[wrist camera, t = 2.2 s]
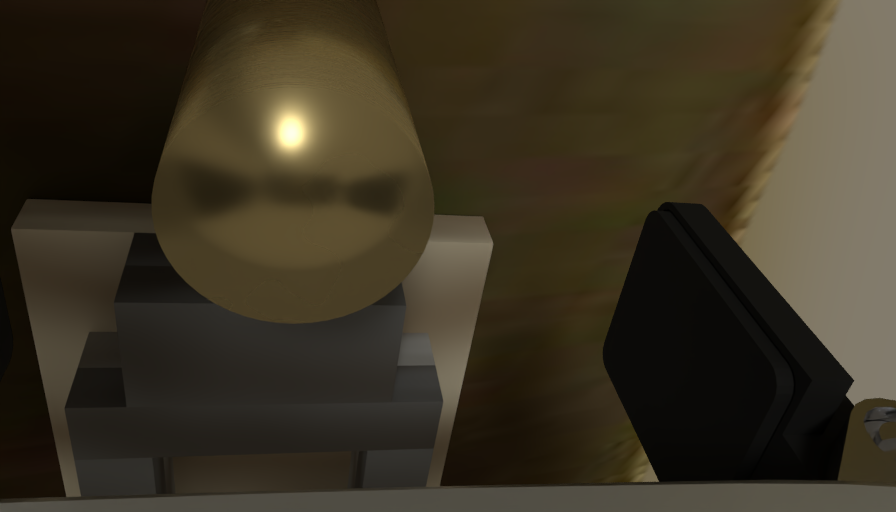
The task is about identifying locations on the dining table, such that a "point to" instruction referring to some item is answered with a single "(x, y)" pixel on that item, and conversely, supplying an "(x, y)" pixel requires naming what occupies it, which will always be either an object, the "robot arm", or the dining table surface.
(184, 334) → the gray stepped fixture base
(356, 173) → the brass pin
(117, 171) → the dining table surface
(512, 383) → the dining table surface
